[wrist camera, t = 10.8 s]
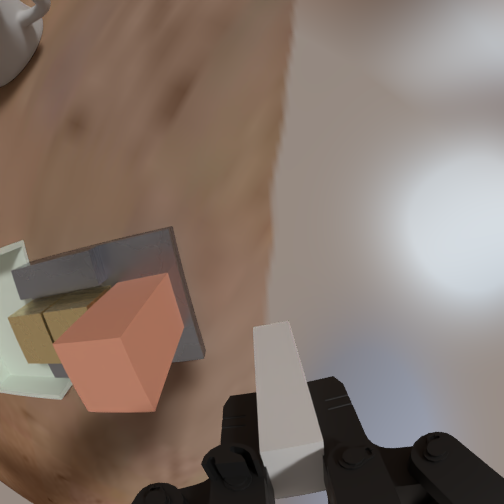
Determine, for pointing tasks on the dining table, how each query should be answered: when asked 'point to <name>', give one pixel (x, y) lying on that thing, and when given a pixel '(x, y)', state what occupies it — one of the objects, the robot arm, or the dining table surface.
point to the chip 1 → (35, 331)
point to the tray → (6, 345)
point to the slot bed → (115, 278)
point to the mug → (19, 35)
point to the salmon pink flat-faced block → (123, 346)
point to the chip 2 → (71, 309)
